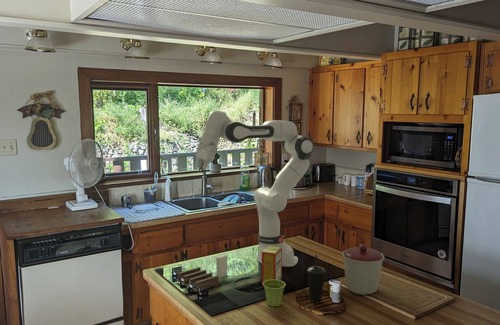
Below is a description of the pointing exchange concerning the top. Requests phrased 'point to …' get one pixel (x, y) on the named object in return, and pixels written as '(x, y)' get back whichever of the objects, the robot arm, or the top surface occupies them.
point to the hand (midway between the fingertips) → (201, 168)
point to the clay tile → (221, 265)
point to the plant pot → (274, 292)
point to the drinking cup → (315, 281)
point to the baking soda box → (272, 263)
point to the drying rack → (198, 278)
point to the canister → (362, 269)
